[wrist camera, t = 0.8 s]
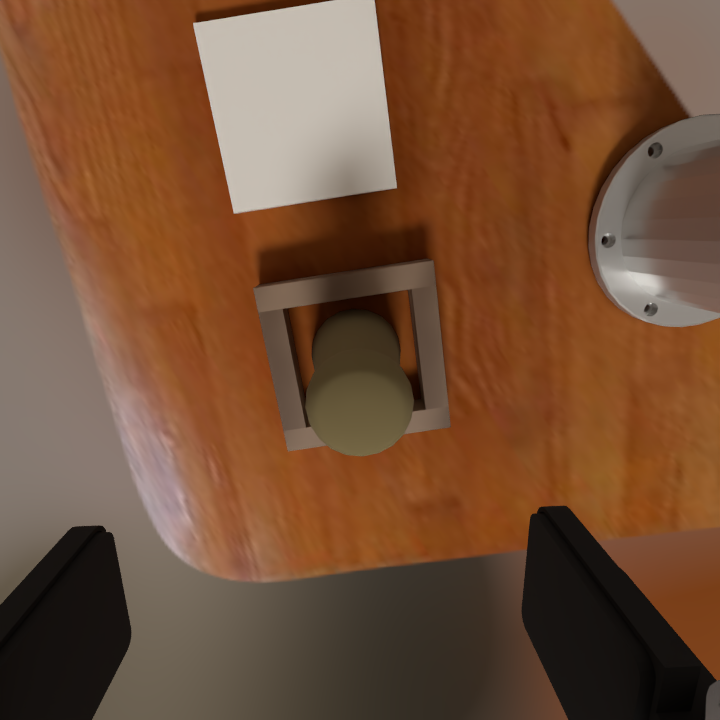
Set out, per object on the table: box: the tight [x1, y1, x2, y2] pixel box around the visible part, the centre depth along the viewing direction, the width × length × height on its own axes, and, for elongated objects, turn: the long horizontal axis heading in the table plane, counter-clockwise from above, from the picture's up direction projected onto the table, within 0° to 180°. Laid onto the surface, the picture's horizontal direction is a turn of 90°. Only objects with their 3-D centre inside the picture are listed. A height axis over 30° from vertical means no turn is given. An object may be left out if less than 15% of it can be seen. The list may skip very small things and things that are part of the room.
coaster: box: [193, 0, 397, 214], centre depth 26 cm, size 10×10×1 cm
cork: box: [305, 309, 414, 456], centre depth 26 cm, size 6×6×11 cm
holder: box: [253, 259, 451, 451], centre depth 30 cm, size 11×11×2 cm
